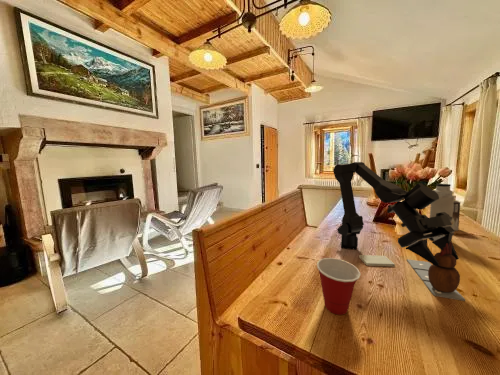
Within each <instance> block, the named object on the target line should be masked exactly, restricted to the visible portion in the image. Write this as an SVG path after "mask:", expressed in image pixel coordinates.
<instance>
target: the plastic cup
mask: <svg viewBox="0 0 500 375" xmlns="http://www.w3.org/2000/svg"><path fill="white" fill-rule="evenodd" d="M316 268H317V270H318V274H319V278H320V283H321V290H322V296H323V300H324V301H323V302H324V306H325V308H326V309H327V311H328V312H330V313H332V314H333V315H337V316H341V315H345V314H347V313H348V310H349V307H350V303H351V300H352V296H353V292H354V288H355V285H356V283H357V281H358V280H359V279H360V278H361V277H360V276H361V275H362V274H361V272H360V270H359V268H358V267H357V266H356V265H354V264H352V263H351V262H348V261H346V260H342V259H341V258H333V257H324V258H321V259H319V260H318V261H317V263H316Z"/></svg>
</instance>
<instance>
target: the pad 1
mask: <svg viewBox="0 0 500 375" xmlns="http://www.w3.org/2000/svg"><path fill="white" fill-rule="evenodd" d="M406 262H407V263H408V264H409V265H410V267H411V268H412V269H413V270H414V269H417V270H425V271H428V270H429V267H430V266H431V265H432V263H430V262H428V261H426V260H425V261H424V260H416V259H415V260H414V259H406Z"/></svg>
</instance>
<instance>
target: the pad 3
mask: <svg viewBox="0 0 500 375" xmlns="http://www.w3.org/2000/svg"><path fill="white" fill-rule="evenodd" d="M423 284H424V285H425V286H426V288H427V289H428V290H429V291H430V293H431V294H432V295H433V297H440V298H445V299H450V300H451V299H452V300H457V301H463V302H465V301H466V299H465V297H464V296H463V295H462V294H461V293H459V291H457V289H456V290H455V291H454V292H450V293H447V292H442V291H439V290H436V289H435V288H433V287H432V285H431V283H430V282H426V281H423Z"/></svg>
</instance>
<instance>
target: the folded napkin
mask: <svg viewBox="0 0 500 375" xmlns="http://www.w3.org/2000/svg"><path fill="white" fill-rule="evenodd" d="M358 257H359V259H360V260H361V262H363V264H365V265H366V266H371V267H393V268H394V267H396V266H395V265H396V264H395V263H394V262H393V261H392V260H390V259H389V258H388V257H387V256H386V255H376V254H375V255H372V254H359V255H358Z"/></svg>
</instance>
